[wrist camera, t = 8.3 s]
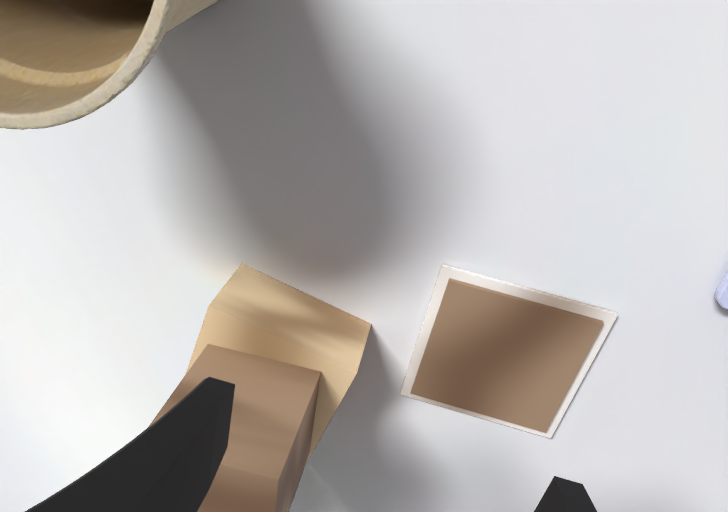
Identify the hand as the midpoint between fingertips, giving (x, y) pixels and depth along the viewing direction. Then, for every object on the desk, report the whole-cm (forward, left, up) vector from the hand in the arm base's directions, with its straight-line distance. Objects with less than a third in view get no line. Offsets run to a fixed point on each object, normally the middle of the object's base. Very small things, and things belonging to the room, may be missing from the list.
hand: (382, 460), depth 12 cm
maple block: (+5, +7, -11) cm, 13 cm away
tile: (-4, +4, -10) cm, 12 cm away
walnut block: (+5, +7, -7) cm, 11 cm away
